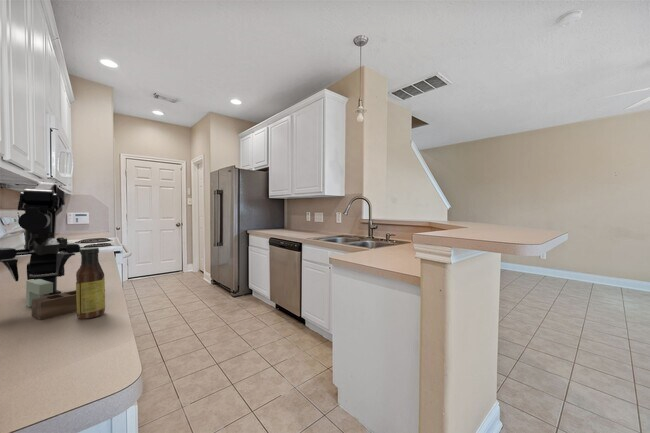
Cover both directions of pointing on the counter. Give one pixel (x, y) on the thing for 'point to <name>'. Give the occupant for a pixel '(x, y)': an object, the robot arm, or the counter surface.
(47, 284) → the green block
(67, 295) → the brown cubby organizer
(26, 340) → the counter surface
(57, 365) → the counter surface
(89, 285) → the sauce bottle
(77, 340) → the counter surface
